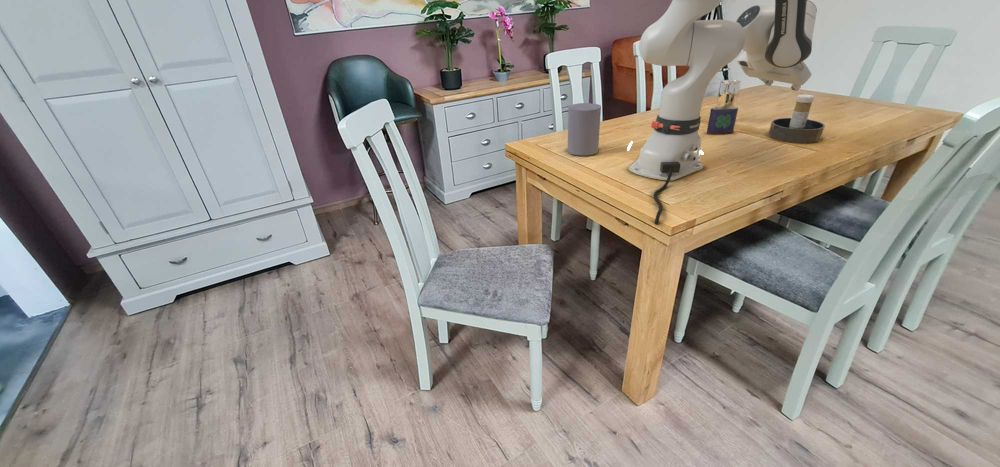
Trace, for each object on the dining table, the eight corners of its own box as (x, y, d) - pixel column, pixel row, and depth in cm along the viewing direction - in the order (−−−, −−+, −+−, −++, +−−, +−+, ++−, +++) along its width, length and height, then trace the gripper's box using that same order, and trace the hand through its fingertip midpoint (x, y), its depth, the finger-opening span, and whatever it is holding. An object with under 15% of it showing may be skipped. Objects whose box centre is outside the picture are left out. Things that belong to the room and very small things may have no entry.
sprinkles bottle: (794, 133, 144) (806, 93, 137) (805, 136, 140) (818, 95, 133) (782, 134, 143) (794, 94, 137) (793, 138, 139) (806, 97, 133)
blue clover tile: (731, 131, 151) (737, 101, 145) (734, 133, 148) (741, 103, 143) (705, 132, 151) (710, 102, 146) (708, 135, 149) (714, 104, 144)
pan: (814, 146, 133) (818, 132, 130) (762, 138, 142) (765, 125, 140) (825, 134, 141) (829, 121, 139) (775, 128, 151) (779, 115, 149)
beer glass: (708, 120, 165) (716, 81, 157) (723, 118, 166) (731, 79, 159) (721, 124, 159) (730, 83, 151) (736, 122, 160) (745, 81, 153)
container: (573, 145, 147) (574, 102, 140) (601, 148, 143) (604, 104, 135) (562, 154, 139) (563, 109, 132) (592, 157, 135) (595, 111, 127)
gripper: (808, 50, 113) (823, 83, 120) (746, 44, 130) (762, 73, 137) (791, 69, 114) (806, 100, 121) (732, 61, 131) (749, 89, 138)
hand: (782, 86), depth 129 cm, fingers open, 8 cm apart
